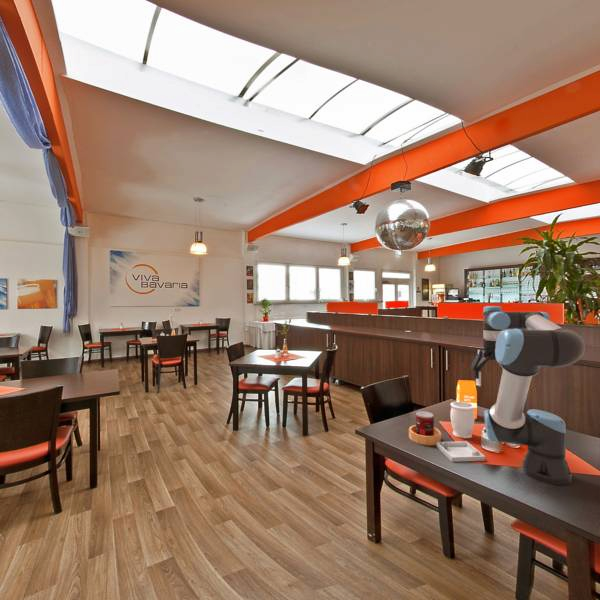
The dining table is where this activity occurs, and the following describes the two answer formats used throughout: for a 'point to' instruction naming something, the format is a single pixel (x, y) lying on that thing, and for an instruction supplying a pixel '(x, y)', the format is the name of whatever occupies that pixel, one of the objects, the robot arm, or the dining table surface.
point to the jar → (462, 419)
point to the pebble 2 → (475, 453)
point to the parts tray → (460, 451)
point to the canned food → (424, 423)
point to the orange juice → (467, 393)
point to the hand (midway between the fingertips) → (492, 385)
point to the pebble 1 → (444, 445)
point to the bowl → (424, 437)
